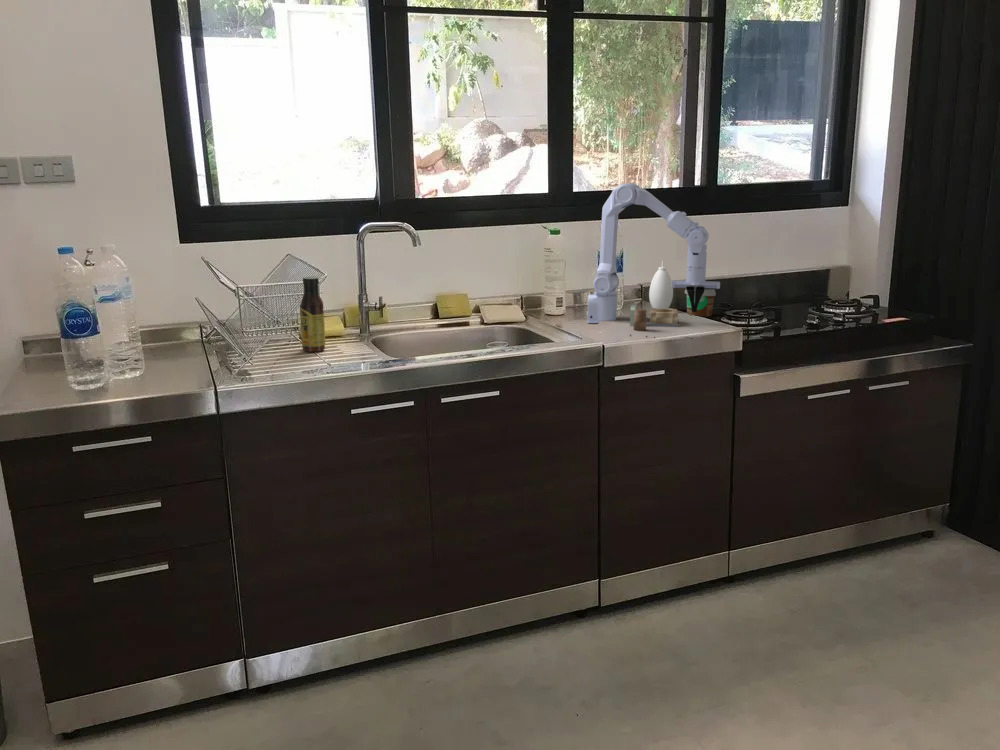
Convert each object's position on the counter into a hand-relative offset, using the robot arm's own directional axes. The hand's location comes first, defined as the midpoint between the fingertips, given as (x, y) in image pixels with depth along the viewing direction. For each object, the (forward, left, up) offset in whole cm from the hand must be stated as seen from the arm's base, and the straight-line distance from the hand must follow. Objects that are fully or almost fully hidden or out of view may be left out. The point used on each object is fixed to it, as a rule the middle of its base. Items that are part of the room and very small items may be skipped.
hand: (694, 311), depth 256 cm
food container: (+2, +19, -5) cm, 20 cm away
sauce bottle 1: (-103, -51, -5) cm, 115 cm away
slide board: (-12, 0, -5) cm, 13 cm away
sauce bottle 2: (-9, +29, -5) cm, 31 cm away
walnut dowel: (-16, -12, -5) cm, 21 cm away
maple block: (-9, 0, -4) cm, 10 cm away
